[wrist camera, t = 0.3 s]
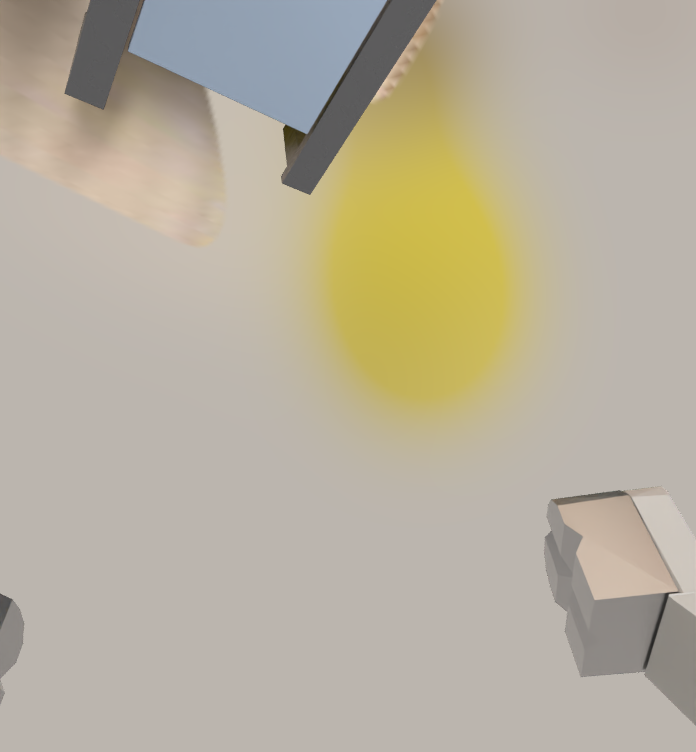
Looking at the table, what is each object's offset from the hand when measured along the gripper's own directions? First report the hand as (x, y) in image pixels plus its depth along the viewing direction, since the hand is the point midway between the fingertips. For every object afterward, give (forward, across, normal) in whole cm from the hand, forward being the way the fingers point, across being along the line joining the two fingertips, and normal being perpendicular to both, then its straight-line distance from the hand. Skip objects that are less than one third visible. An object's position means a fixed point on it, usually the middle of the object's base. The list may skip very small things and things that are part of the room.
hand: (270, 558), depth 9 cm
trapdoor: (+44, +2, -2) cm, 45 cm away
